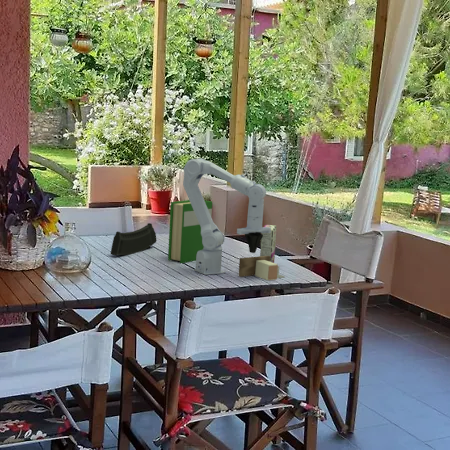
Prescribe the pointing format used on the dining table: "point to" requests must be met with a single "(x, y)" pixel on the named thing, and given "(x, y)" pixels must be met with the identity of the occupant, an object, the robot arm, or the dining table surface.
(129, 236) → the magazine
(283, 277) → the bookend
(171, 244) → the hardback book
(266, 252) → the candy bar box
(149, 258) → the dining table surface
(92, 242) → the dining table surface
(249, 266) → the shelf wall
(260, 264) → the boxed book
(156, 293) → the dining table surface
